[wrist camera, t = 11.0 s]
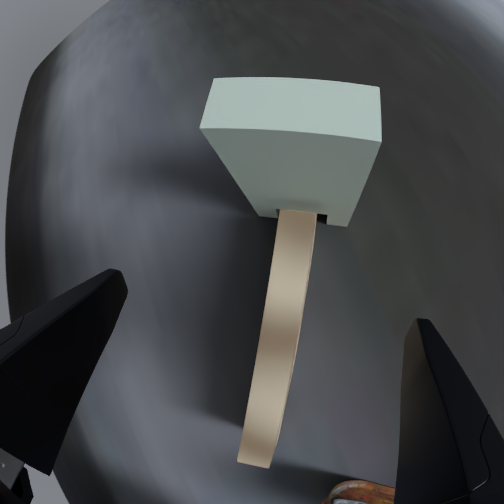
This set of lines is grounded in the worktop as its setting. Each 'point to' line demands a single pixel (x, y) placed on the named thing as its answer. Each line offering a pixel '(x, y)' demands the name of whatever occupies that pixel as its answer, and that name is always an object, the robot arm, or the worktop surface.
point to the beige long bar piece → (278, 336)
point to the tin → (360, 493)
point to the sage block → (295, 141)
